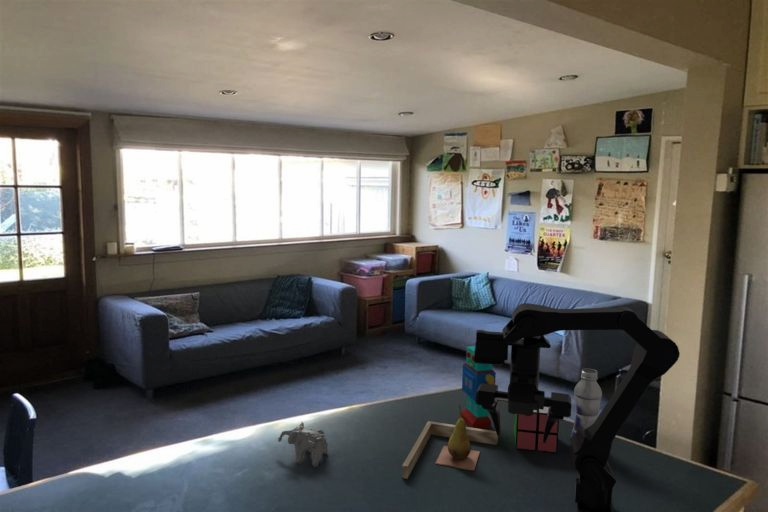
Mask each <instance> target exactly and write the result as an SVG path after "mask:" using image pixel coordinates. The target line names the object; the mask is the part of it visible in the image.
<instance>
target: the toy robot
mask: <svg viewBox="0 0 768 512" xmlns="http://www.w3.org/2000/svg"><path fill="white" fill-rule="evenodd" d="M474 354H475V345H471V346H466V355H465V356H466V358H465V359H466V360H465V362H464V363H463V364H462V378H461V379H462V381H461V382H462V383H461V391H462V392H463V393H465V394H466V408H465V409H463V410H461V416H462V418H463V419H464V421H465V425H467V427H471V428H477V429H484V430H488V429H492V421H491V418H489V412H488V411H487V410H486V409H483V408H482V405H477V404H476V392H477V390H478V387H479V385H481V384H482V383H484V384H492V385H496V378H497V377H496V374H497V373H496V371H495V370H493V365H492V364H478V363H474ZM461 416H460V415H459V418H460V417H461Z"/></svg>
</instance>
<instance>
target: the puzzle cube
mask: <svg viewBox="0 0 768 512" xmlns="http://www.w3.org/2000/svg"><path fill="white" fill-rule="evenodd" d="M548 409H549V407H544V409H543V410H542V409H539V410H534V412H533V415H532V416H525V415H522V414H514V415H515V416H514V429H513V432H514V442H515V443H514V444H515V445H514V446H515V449H517V450H518V449H519V450H525V449H526V450H528V451H534V450H535V451H537V452H544V451H547V453H553V452H556V453H558V447H559V446H558V444H559V428H560V426H559V425H560V420H557V421H556V422H555V424H554V425H553V427H552V429H551V431H550V433H549V435H548V438H547V440H546V442H545V443H543V436H544V429H545V424H546V419H547V414H548ZM526 450H525V451H526Z"/></svg>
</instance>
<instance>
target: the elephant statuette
mask: <svg viewBox="0 0 768 512" xmlns="http://www.w3.org/2000/svg"><path fill="white" fill-rule="evenodd" d="M304 423H305V422H302V421H301V423H300V424H299V426H296V427H295V428H293V429H291V430H284V431H281V434H280V435H279V437H278V439H277V441H278V442H279V443H281V442H282V440H283V437H284V436H286V435H287V436H288V439H287V443H288V444H289V445H294V451H295V464H298V465H299V464H301V463H302V462H303V458H304V454H309V453H310V454H312V456H313V458H312V461H311V466H312V467H313V468H316V467H318V466H319V462H320V458H321V456H322V454H323V455H327V454H328V453H329V451H328V446H329V444H328V442H327V438H326V435H325V431H324V430H323V429H321V428H319V429H317V430H315V429H313V428H312V429H308V428H305V424H304Z"/></svg>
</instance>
